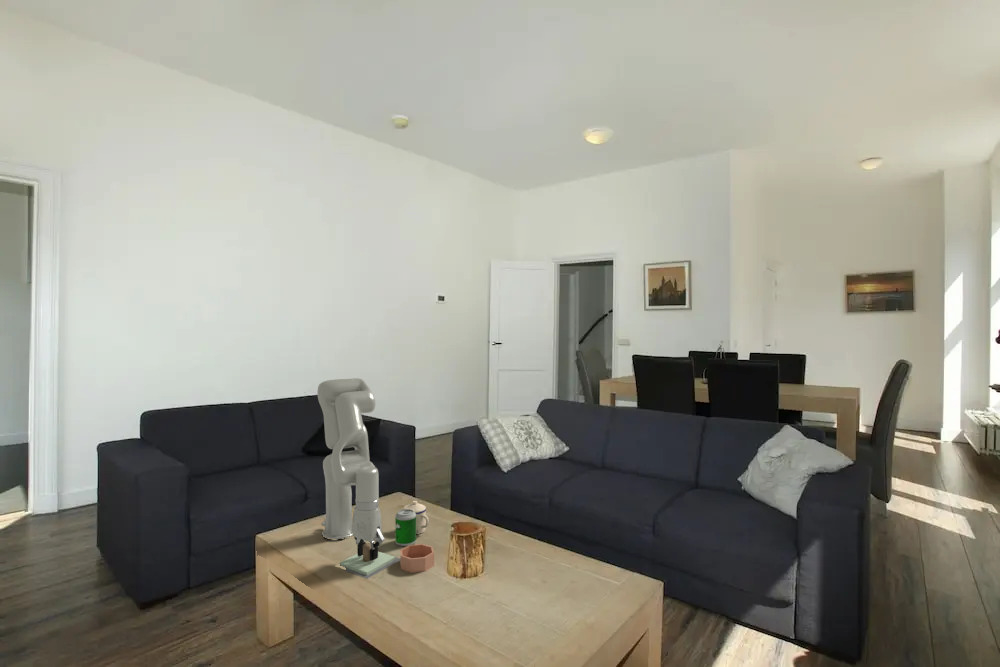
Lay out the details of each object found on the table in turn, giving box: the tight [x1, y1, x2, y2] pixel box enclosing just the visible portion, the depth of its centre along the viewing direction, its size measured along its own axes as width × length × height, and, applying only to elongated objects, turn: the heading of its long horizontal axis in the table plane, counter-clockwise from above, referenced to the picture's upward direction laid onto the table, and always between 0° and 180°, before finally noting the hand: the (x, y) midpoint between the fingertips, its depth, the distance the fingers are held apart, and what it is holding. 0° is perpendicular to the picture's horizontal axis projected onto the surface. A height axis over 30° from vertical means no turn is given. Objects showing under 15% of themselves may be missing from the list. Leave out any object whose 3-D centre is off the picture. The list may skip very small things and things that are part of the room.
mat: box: [343, 556, 400, 580], centre depth 178 cm, size 16×16×1 cm
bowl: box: [399, 543, 435, 573], centre depth 177 cm, size 11×11×5 cm
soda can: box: [394, 509, 417, 547], centre depth 194 cm, size 8×8×12 cm
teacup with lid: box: [402, 500, 430, 535], centre depth 205 cm, size 12×9×12 cm
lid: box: [339, 542, 396, 575], centre depth 178 cm, size 13×13×6 cm
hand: (367, 556), depth 178 cm, fingers open, 5 cm apart
